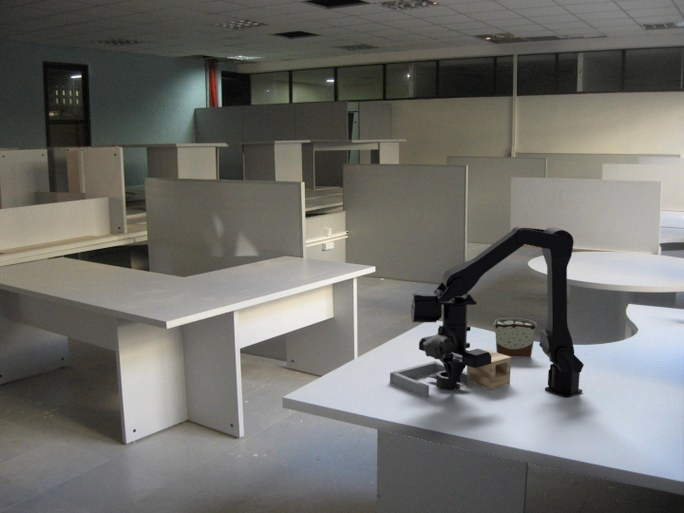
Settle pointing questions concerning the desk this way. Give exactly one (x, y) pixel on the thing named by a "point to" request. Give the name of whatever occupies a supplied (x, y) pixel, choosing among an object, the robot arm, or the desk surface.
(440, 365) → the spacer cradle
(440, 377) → the black ring with tabs
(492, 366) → the bearing block
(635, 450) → the desk surface
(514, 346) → the food container
